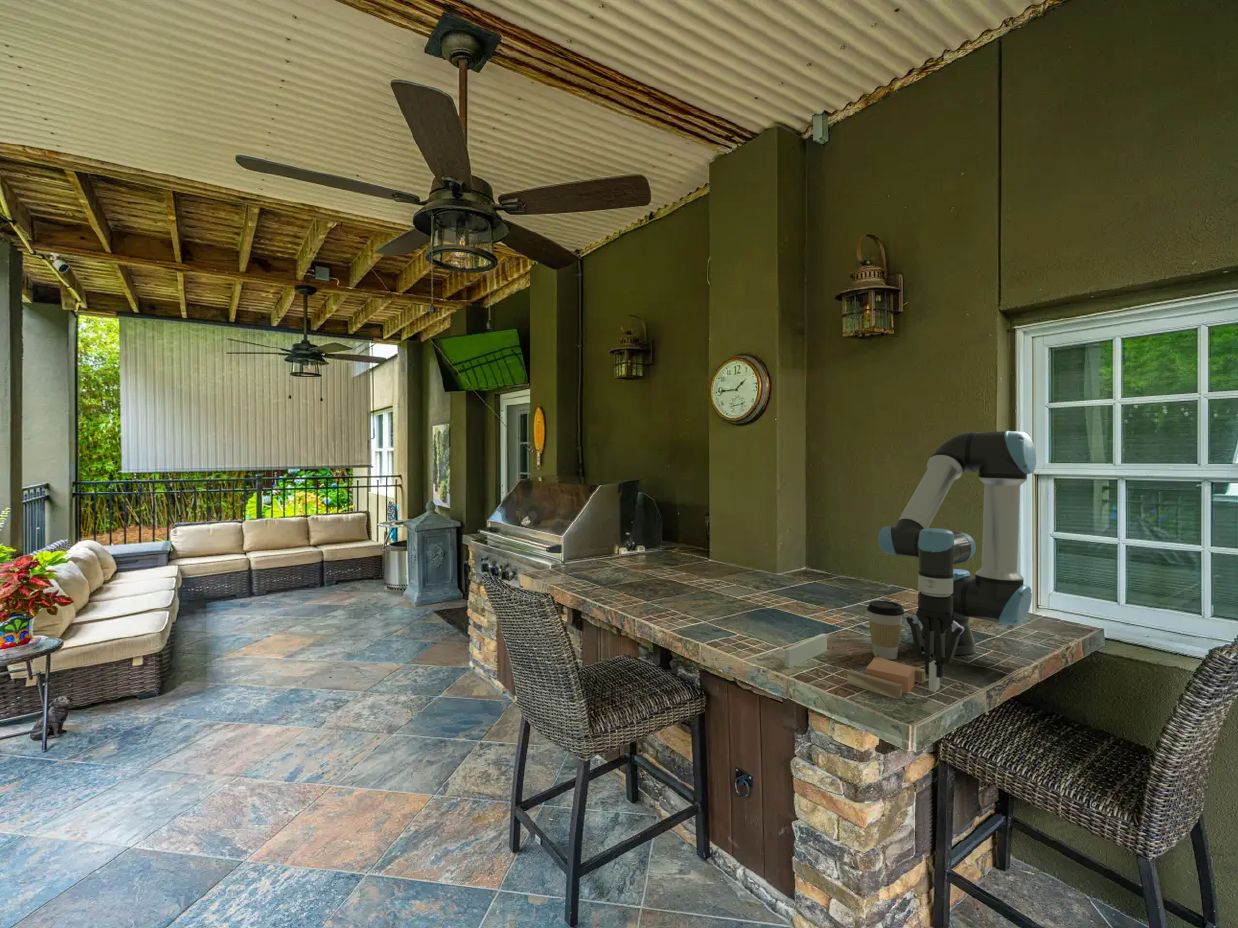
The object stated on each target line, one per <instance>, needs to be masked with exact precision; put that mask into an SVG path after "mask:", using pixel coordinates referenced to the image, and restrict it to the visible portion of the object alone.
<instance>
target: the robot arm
mask: <svg viewBox="0 0 1238 928" xmlns="http://www.w3.org/2000/svg"><path fill="white" fill-rule="evenodd" d="M928 458H929V459H928V460H927V463H926V467H927V469H926V472H925V473H924V474H923V476H922V478H921V480H920V481H919V483H918V485H917V487H916V489H915V491H914V492H913V494H912V496H911V497H910V499H909V501H908V502H907V504H906V506H905V507H904V509H903V511H902V513H901V515H900V516H899V519H898V520H897V522H896V524H895V525H894V526H893V525H890V526H889V525H887V526H883V527H881V529H880V531H879V533H878V538H877V541H878V542H877V543H878V546H879V549H880V551H881V552H883V554H888V555H892V556H896V557H898V556H899V557H906V558H907V557H908V558H914V559H918V575H917V576H918V577H917V579H918V581H917V582H918V584H917V585H918V587H917V589H918V590H919V592H917V610H916V612H915V614H914V615H913V614H912V615H909V616H907V617H906V618H905V619H906V622H907V624H908V625H909V627H910V631H911V636H912V639H913V644H914V649H915V652H916V653H915V654H916V656H917V657H918V658H921V659H922V660H924V670H925V675H928V691H932V692H937V690H938V691H939V689H940V684H941V683H940V681H941V680H940V679H942V678H943V677H944V675H945V665H949V664H950V663H952V662H953V661H954V658H955V655H956V656H957V655H958V656H959V655H960V656H963V655H970V654H973V653H975V652H976V641H975V638H974V635H973V632H972V629H971V625H970V618H973V619H977V620H982V621H986V622H992V623H997V624H999V625H1006V626H1013V627H1014V626H1015V627H1017V626H1020V625H1022V623H1023V622H1025V619H1026V617H1027V616H1028V614H1029V611H1030V608H1031V604H1032V597H1033V594H1032V589H1031V587H1030V586H1028V585H1027V584H1025V583H1024V576H1023V575H1022V574H1021V573H1019V571H1018V565H1019V564H1018V562H1019V561H1018V560H1019V559H1018V557H1019V533H1020V531H1019V530H1020V529H1019V528H1020V526H1019V524H1020V505H1021V504H1020V501H1021V500H1020V499H1021V497H1020V496H1021V486H1022V485H1023V484H1024V483H1025V482H1027V481H1028V475H1030V474H1033V473H1034V472H1035V470H1036V466H1037V453H1036V449H1035V444H1034V442H1033V440H1032V439H1031V437H1030V435H1028V434H1027V433H1026V432H1023V431H1013V430H1012V431H1011V430H1007V431H1006V430H1005V431H967V432H962V433H959V434H956V435H955V436H952V437H950V438H949V439H947V440H946V441H944V442H942V444H940V445H939V446H938V447H937V448H936V449H935V450H934V451H933V452H932V454H931V455H930V457H928ZM966 472H971V473H972V472H973V473H974V472H976V473H978V480H979V481H981V482H982V484H983V485H984V486H983V487H984V488H983V512H982V513H983V514H982V516H983V517H982V518H983V519H982V520H983V521H982V542H981V543H982V548H981V549H982V550H981V568H979V569H978V570H976V572H975V574H974V575H975V577H974V576H973V577H972V576H971V574H970V571H969V570H966V569H957V568H954V567H955V566H954V565H956V564H961V563H964V562H967V561H968V560H970V559H971V558H973V556H974V555H975V553H976V550H977V549H976V548H977V546H976V542H975V540H974V539H973V537H972V536H971V535H969V534H968V533H965V532H963V531H952V530H950V529H946V528H936V527H934V528H933V527H930V525H931V524H932V522H933V520H934V518H935V516H936V514H937V513H938V511H939V509H940V507H941V505H942V504H943V501H944V500H945V498H946V496H947V495H948V492H949V491H950V488H951V486H952V485H953V483H954V481H956V480H958V479H960V478H961V477H962V476H963V473H966ZM920 624H921V627H920ZM934 652H935V654H934ZM934 655H935V656H934Z"/></svg>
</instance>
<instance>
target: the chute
mask: <svg viewBox="0 0 1238 928" xmlns="http://www.w3.org/2000/svg"><path fill="white" fill-rule="evenodd" d="M873 659H877V660H882V661H887V662H892V663H897V664H902V665H907V664H905V663H901V662H897V661H892V660H891V659H882V658H879V657H876V656H874V657H873V658H872V660H873ZM907 666H910V665H909V664H908V665H907ZM914 667H915V666H914ZM846 673H847V675H846V683H847V685H851V686H855V687H858V688H860V689H864V690H867V691H870V692H873V693H877V694H880V695H883V696H886V697H889V698H892V699H896V700H900V699H901V698H902V697H903V693H902V685H901V684H897V683H894V682H890V681H887V680H884V679H880V678H877V677H873V676H870V675H867V674H866V673H863V672H859V671H856V670H852V669H851V670H848V671H847V672H846ZM925 682H926V673H925V669H923V668H920V667H915V683H918V684H924V683H925Z"/></svg>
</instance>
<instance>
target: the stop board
mask: <svg viewBox="0 0 1238 928" xmlns="http://www.w3.org/2000/svg"><path fill="white" fill-rule="evenodd" d="M827 644H828V634H826V633H823V632H822V633H820V634H818V635H815V636H813V637H810V638H808V639H805V640H804V641H801V642H799V643H795V644H793V645H791V646H788V647H787V648H784V667H785V668H786V667H787V669H790V668H793V667H795V666H797V664H798V665H799V664H803V663H804V662H806V661H808V660H810V659H812V658H816V657H817V656H819V655H822V654H823V653H826V652H827V649H828V648H827V647H828V645H827Z"/></svg>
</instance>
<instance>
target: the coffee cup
mask: <svg viewBox="0 0 1238 928" xmlns="http://www.w3.org/2000/svg"><path fill="white" fill-rule="evenodd" d="M866 611H868V615H869V619H868V620H869V621H868V622H869V629H870V637H871V638H870V639H871V645H872V652H873V656H874V657H879V658H882V659H886V660H895V659H897V657H898V651H899V646H900V639H901V632H902V627H903V622H902V621H903V615H904V614H905V610H904V609H903V605H902V604H901V603H898V602H895V601H889V600H873V601H870V602H869V605H868V606H867V609H866Z"/></svg>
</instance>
